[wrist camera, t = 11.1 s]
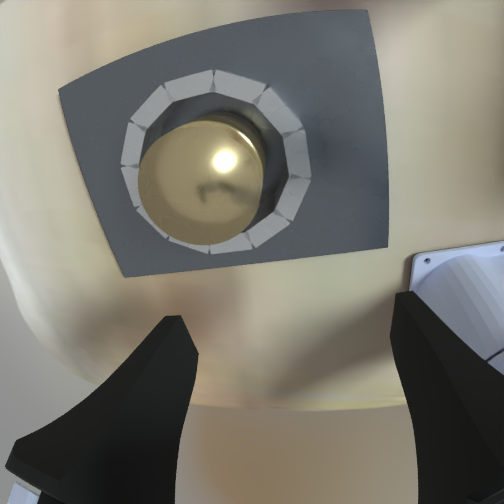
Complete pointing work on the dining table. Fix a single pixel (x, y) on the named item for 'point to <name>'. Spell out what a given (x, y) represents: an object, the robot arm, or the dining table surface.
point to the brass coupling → (204, 178)
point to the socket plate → (263, 119)
